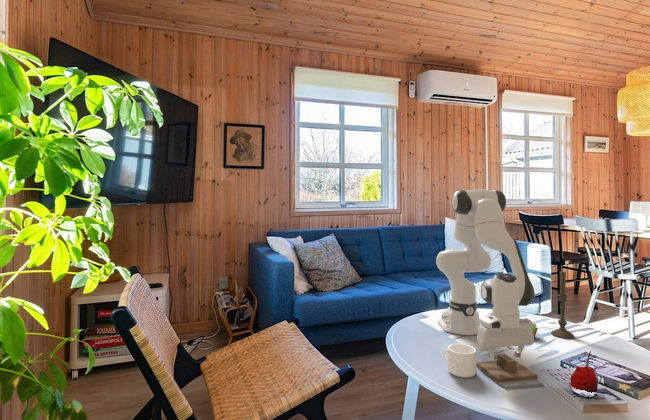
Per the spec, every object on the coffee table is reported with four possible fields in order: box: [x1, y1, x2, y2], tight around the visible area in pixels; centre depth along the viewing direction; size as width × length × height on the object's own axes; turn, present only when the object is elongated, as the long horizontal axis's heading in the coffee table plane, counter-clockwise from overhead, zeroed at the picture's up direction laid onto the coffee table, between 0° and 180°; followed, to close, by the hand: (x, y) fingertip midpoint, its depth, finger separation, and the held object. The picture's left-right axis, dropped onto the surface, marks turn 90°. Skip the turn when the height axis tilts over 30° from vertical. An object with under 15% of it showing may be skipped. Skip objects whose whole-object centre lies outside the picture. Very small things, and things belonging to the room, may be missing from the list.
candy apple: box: [569, 351, 599, 393], centre depth 123 cm, size 8×7×15 cm
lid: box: [476, 353, 539, 383], centre depth 137 cm, size 13×15×5 cm
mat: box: [476, 359, 545, 390], centre depth 137 cm, size 20×14×1 cm
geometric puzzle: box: [532, 323, 540, 338], centre depth 173 cm, size 7×7×8 cm
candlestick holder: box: [550, 270, 575, 340], centre depth 175 cm, size 9×9×30 cm
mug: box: [443, 343, 477, 379], centre depth 139 cm, size 12×10×9 cm
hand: (505, 357), depth 138 cm, fingers open, 8 cm apart
